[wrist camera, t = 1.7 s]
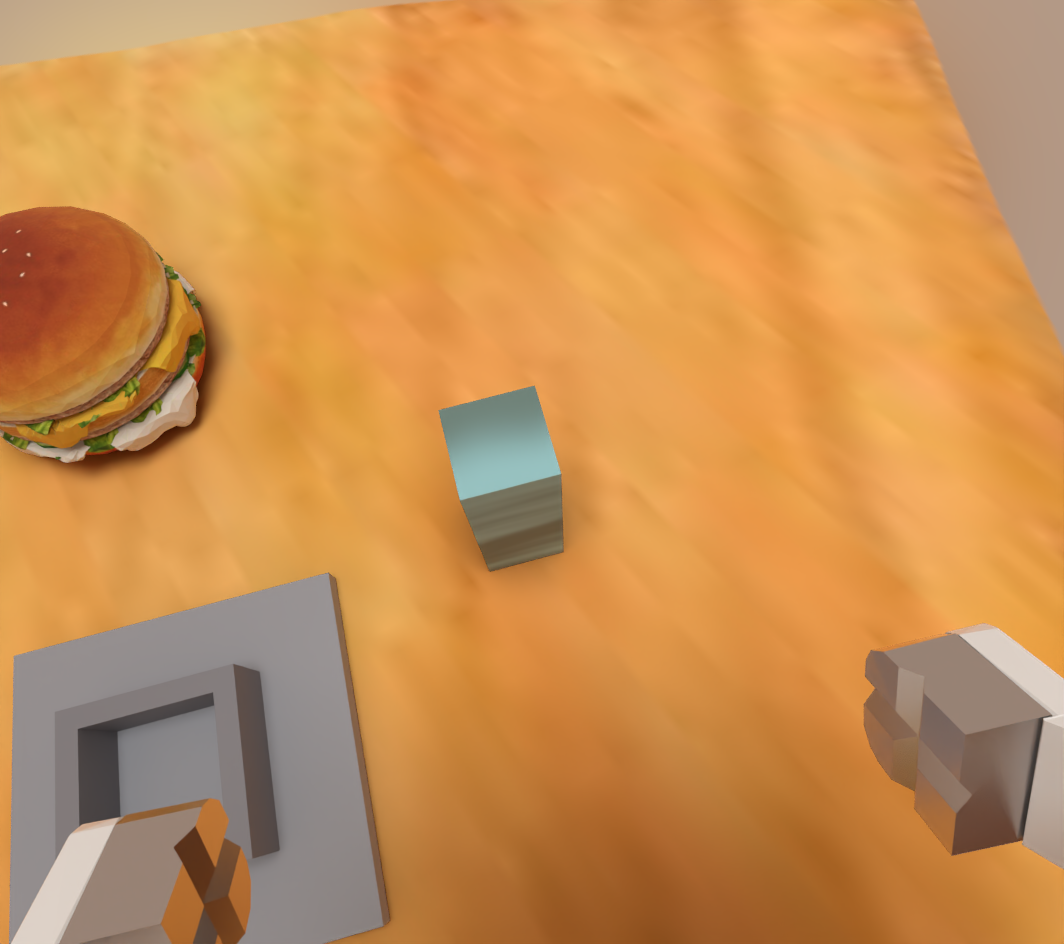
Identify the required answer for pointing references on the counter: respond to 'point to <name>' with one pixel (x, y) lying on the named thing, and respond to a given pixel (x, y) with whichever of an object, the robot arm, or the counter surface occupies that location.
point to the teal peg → (506, 476)
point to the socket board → (209, 752)
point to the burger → (92, 336)
